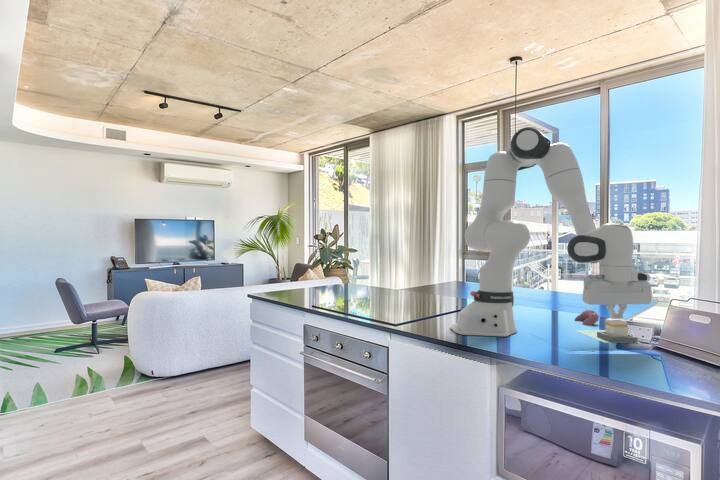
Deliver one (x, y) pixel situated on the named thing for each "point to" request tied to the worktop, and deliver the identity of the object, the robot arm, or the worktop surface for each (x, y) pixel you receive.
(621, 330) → the plug
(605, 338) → the board
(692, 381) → the worktop surface
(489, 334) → the robot arm
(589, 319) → the reddish-brown rounded lump
